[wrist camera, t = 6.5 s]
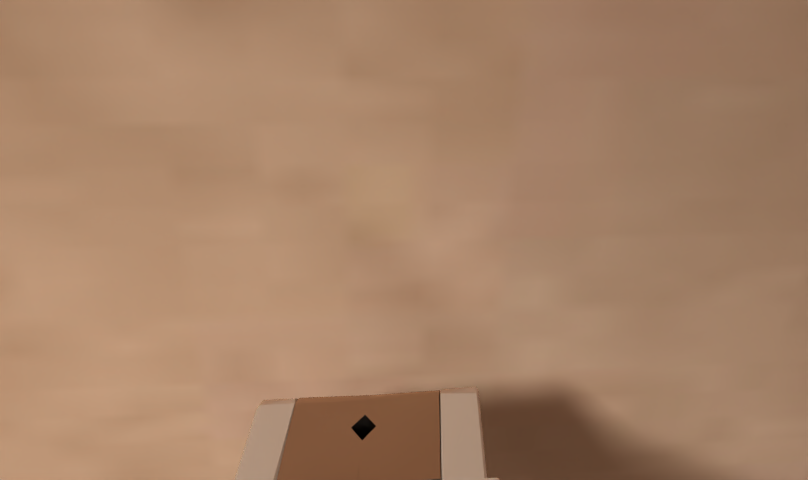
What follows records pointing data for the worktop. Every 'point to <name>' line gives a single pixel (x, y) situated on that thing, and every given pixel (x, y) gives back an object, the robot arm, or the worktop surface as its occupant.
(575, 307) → the worktop surface
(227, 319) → the worktop surface
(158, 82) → the worktop surface
